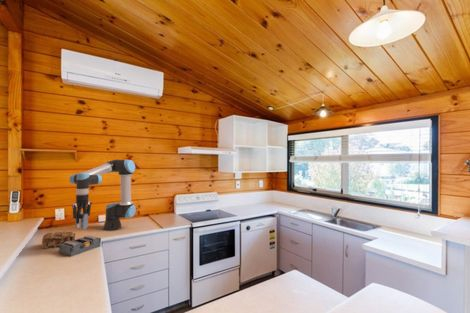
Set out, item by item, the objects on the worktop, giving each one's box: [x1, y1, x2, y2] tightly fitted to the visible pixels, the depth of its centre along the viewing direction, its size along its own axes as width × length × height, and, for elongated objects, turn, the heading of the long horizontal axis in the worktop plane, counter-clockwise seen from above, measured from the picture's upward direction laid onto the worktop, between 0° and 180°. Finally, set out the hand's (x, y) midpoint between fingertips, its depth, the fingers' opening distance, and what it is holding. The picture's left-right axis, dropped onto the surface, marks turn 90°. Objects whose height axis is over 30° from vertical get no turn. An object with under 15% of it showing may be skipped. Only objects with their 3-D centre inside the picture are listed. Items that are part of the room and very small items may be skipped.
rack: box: [58, 234, 102, 257], centre depth 167 cm, size 21×14×7 cm, turn 157°
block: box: [75, 212, 89, 230], centre depth 168 cm, size 9×3×10 cm, turn 66°
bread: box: [41, 230, 76, 250], centre depth 174 cm, size 19×11×10 cm, turn 116°
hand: (81, 227), depth 168 cm, fingers closed on block, 3 cm apart
